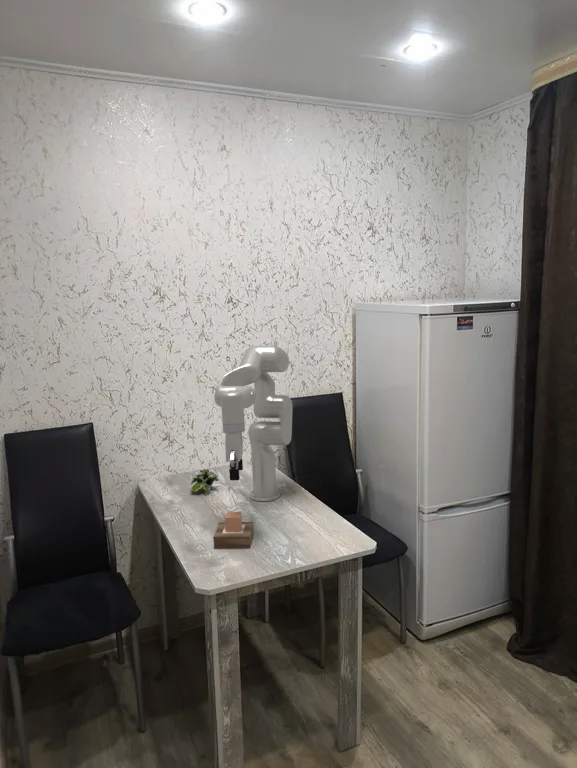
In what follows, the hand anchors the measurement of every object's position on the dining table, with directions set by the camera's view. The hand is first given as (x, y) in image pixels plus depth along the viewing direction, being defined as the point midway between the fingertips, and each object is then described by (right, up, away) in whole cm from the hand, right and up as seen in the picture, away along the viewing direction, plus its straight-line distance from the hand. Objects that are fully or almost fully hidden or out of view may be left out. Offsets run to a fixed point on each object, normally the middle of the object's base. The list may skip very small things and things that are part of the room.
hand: (236, 474), depth 193 cm
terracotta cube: (-1, -18, -2) cm, 18 cm away
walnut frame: (-1, -22, -2) cm, 22 cm away
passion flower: (-18, -15, +47) cm, 52 cm away
